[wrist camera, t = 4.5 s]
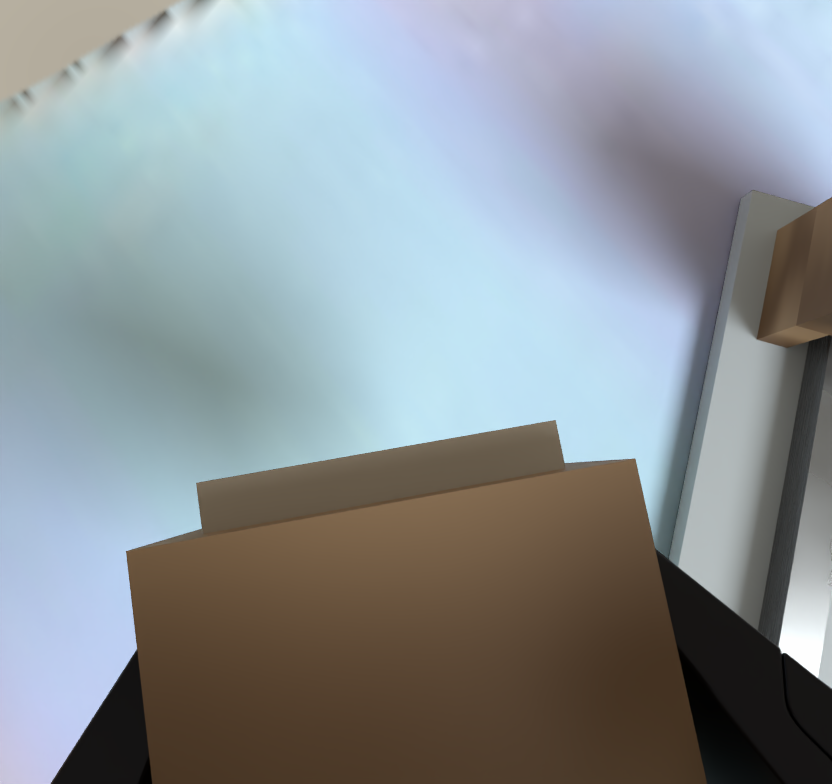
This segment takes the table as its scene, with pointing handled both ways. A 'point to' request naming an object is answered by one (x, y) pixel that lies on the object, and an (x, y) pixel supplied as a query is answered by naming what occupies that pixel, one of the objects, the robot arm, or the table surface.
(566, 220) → the table surface
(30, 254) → the table surface
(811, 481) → the rail
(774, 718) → the robot arm
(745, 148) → the table surface
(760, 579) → the base board
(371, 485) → the notched wooden block
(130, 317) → the table surface
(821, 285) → the fitted finger
